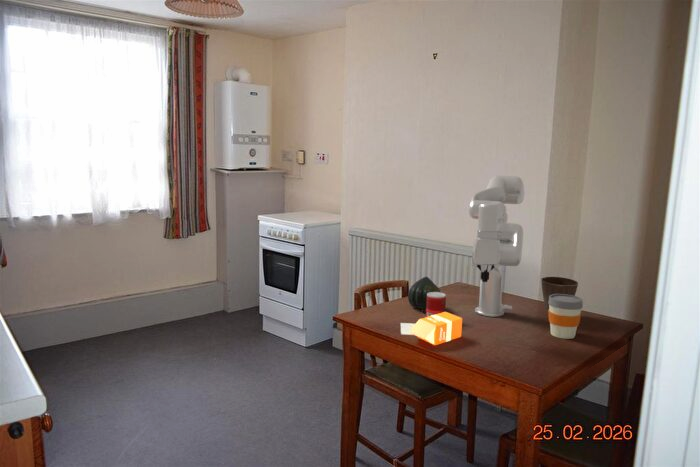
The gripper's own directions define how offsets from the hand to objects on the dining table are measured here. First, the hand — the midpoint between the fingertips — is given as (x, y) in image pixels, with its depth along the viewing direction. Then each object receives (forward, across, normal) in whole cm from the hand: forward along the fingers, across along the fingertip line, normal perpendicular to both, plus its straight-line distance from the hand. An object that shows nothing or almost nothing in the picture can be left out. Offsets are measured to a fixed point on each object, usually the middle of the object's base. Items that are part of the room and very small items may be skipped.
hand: (484, 281), depth 201 cm
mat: (+21, +24, 0) cm, 32 cm away
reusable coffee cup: (+21, -32, -2) cm, 38 cm away
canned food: (+21, +17, -15) cm, 31 cm away
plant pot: (+21, -37, -26) cm, 50 cm away
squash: (+21, +21, -30) cm, 42 cm away
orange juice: (+17, +12, +3) cm, 21 cm away
